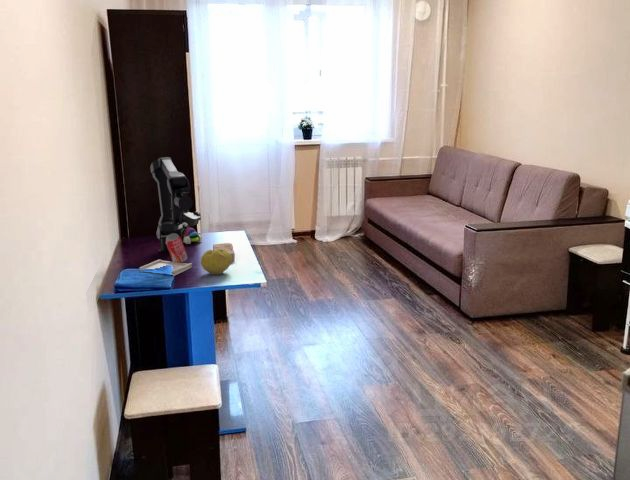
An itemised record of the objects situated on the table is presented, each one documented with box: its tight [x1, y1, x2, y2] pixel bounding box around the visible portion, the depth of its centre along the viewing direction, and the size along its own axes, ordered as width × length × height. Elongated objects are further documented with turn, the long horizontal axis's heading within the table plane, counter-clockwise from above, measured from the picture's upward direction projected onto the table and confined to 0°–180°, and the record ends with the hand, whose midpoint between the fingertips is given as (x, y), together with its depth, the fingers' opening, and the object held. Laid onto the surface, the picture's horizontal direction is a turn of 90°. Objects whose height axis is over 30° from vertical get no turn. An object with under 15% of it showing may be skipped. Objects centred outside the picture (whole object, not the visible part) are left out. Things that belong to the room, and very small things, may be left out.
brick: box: [212, 242, 236, 264], centre depth 254 cm, size 17×8×5 cm, turn 12°
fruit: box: [200, 249, 232, 276], centre depth 230 cm, size 11×12×10 cm
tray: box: [138, 259, 194, 277], centre depth 237 cm, size 16×13×2 cm
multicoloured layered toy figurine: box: [183, 227, 203, 245], centre depth 279 cm, size 8×10×7 cm
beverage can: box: [166, 233, 188, 263], centre depth 242 cm, size 6×6×12 cm
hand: (180, 243), depth 245 cm, fingers closed
